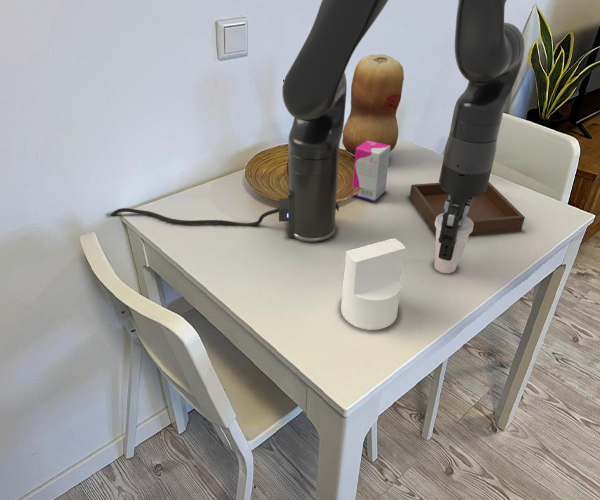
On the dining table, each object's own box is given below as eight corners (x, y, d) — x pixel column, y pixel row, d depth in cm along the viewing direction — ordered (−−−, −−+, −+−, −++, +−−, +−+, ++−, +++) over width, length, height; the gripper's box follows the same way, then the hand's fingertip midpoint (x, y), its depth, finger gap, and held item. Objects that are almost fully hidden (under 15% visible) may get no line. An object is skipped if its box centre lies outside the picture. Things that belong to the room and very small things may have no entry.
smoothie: (463, 280, 89) (480, 210, 82) (426, 275, 91) (439, 206, 83) (462, 259, 95) (478, 192, 87) (426, 254, 96) (439, 188, 88)
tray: (437, 238, 100) (440, 224, 98) (409, 197, 114) (411, 184, 112) (520, 231, 103) (525, 217, 101) (483, 192, 116) (486, 179, 114)
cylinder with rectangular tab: (359, 336, 78) (365, 274, 71) (331, 301, 84) (334, 241, 78) (408, 319, 81) (418, 258, 74) (377, 287, 88) (384, 228, 81)
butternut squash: (369, 175, 122) (379, 68, 108) (330, 157, 131) (335, 55, 116) (406, 159, 130) (421, 57, 116) (368, 143, 138) (376, 46, 124)
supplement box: (386, 192, 115) (391, 144, 109) (374, 203, 111) (379, 154, 105) (363, 185, 118) (367, 138, 111) (351, 196, 114) (354, 148, 107)
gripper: (453, 140, 87) (437, 224, 97) (433, 175, 77) (417, 264, 86) (498, 148, 85) (477, 233, 94) (484, 185, 74) (462, 276, 84)
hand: (449, 248), depth 90 cm, fingers closed on smoothie, 6 cm apart
